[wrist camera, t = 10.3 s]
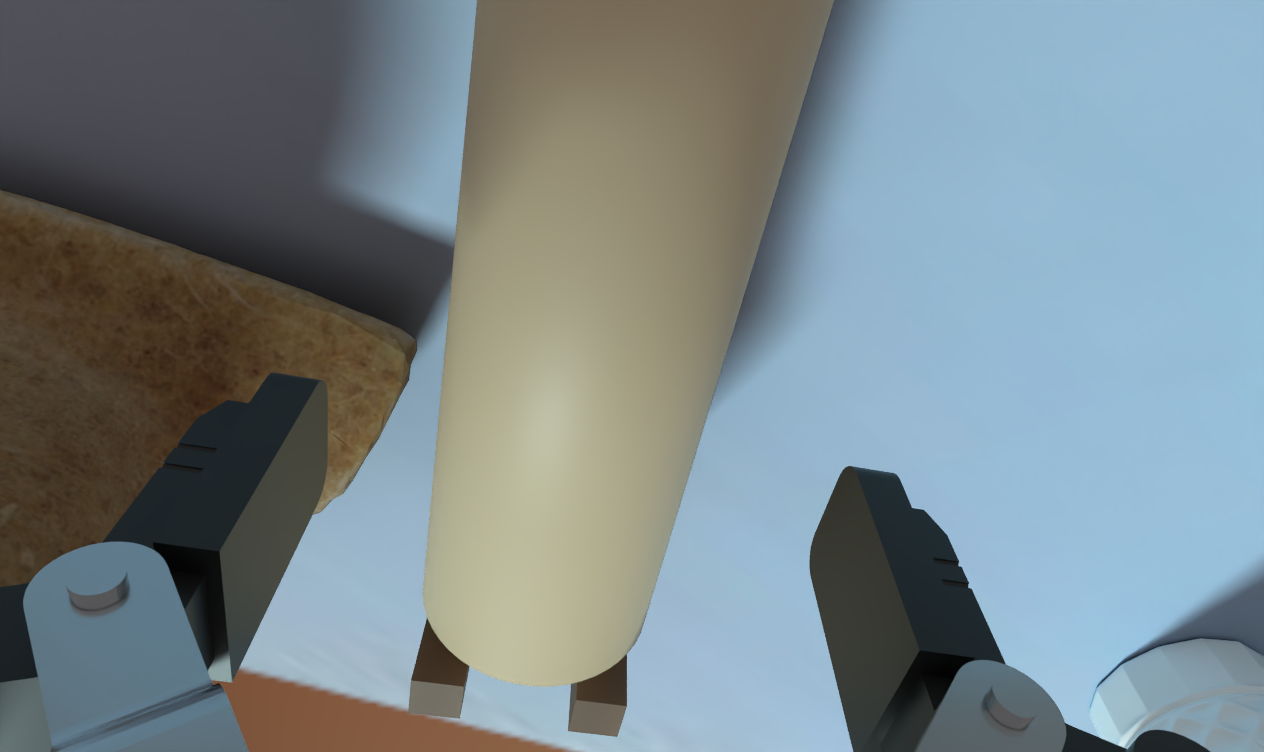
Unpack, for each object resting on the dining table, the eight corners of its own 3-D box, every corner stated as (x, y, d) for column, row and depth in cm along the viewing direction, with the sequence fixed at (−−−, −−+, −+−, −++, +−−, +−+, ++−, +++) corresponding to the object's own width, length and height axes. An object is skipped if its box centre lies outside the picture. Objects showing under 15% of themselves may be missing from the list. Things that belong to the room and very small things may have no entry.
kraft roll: (869, -229, 14) (962, -274, 9) (637, 578, 24) (625, 752, 20) (542, -310, 14) (466, -400, 9) (448, 543, 24) (389, 711, 19)
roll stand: (837, -260, 17) (999, -337, 9) (630, 517, 28) (632, 753, 20) (537, -338, 16) (464, -485, 9) (449, 491, 27) (386, 725, 20)
